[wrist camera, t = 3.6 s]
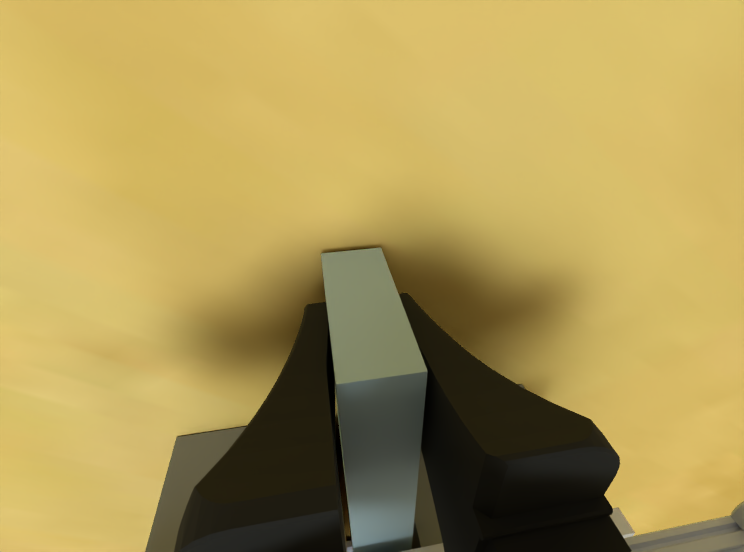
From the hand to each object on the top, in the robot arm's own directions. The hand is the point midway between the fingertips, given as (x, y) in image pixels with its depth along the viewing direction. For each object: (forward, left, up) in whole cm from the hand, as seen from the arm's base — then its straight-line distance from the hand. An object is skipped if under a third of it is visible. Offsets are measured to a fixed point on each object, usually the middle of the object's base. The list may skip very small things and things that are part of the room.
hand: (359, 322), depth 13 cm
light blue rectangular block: (-5, 0, -1) cm, 5 cm away
